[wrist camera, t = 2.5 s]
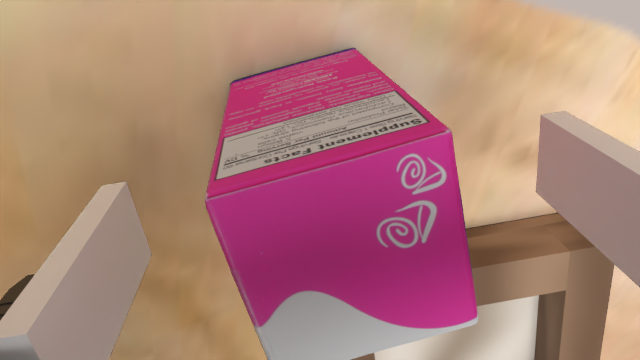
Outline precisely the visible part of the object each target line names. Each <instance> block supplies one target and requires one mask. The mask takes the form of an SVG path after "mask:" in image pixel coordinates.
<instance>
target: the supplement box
mask: <svg viewBox="0 0 640 360" xmlns="http://www.w3.org/2000/svg"><path fill="white" fill-rule="evenodd" d="M205 203H206V209H207V211H208V214H209V217H210V219H211V222H212V224H213V227H214V230H215V232H216V235H217V237H218V240H219V242H220V245H221V248H222V250H223V252H224V255H225V257H226V260H227V262H228V265H229V267H230V270H231V273H232V276H233V278H234V280H235V282H236V284H237V287H238V289H239V292H240V294H241V297H242V299H243V301H244V304H245V306H246V309H247V311H248V314H249V316H250V318H251V321H252V323H253V325H254V328H255V331H256V333H257V335H258V337H259V340H260V342H261V345H262V347H263V349H264V351H265V354H266V357H267V359H268V360H351V359H354V358H358V357H361V356H364V355H368V354H371V353H375V352H378V351H382V350H385V349H389V348H392V347H396V346H400V345H403V344H407V343H411V342H414V341H418V340H422V339H426V338H429V337H433V336H436V335H440V334H444V333H447V332H451V331H455V330H458V329H462V328H465V327H469V326H472V325H474V324H477V322H478V312H477V304H476V297H475V290H474V283H473V276H472V269H471V262H470V255H469V248H468V241H467V235H466V228H465V221H464V215H463V207H462V200H461V194H460V188H459V180H458V174H457V167H456V161H455V153H454V146H453V138H452V133H451V130H450V129H449V128H447V127H446V126H445V125H444V124H443V123H442V122H440V121H439V120H438V119H437V118H435V117H434V116H433V115H432V114H431V113H430V112H429V111H427V110H426V109H425V108H424V107H423V106H421V105H420V104H419V103H418V102H417V101H416V100H414V99H413V98H412V97H411V96H410V95H408V94H407V93H406V91H404V90H403V89H402V88H400V87H399V85H397V84H396V83H394V82H393V81H392V80H391V79H390V78H389V77H388V76H386V75H385V74H384V73H383V72H382V71H380V70H379V69H378V68H377V67H376V66H375V65H374V64H372V63H371V62H370V61H369V60H368V59H367V58H365V57H364V56H363V55H362V54H361V53H360V52H359V51H357V50H356V49H355V48H352V49H348V50H344V51H341V52H337V53H333V54H329V55H326V56H322V57H318V58H315V59H311V60H307V61H303V62H300V63H296V64H292V65H289V66H285V67H281V68H278V69H274V70H270V71H267V72H263V73H260V74H256V75H253V76H249V77H246V78H242V79H239V80H236V81H233V82H232V83H231V84H230V90H229V95H228V100H227V104H226V108H225V112H224V116H223V121H222V125H221V130H220V135H219V139H218V144H217V148H216V152H215V157H214V161H213V166H212V170H211V174H210V179H209V183H208V187H207V191H206V196H205Z"/></svg>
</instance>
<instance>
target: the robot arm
mask: <svg viewBox="0 0 640 360" xmlns="http://www.w3.org/2000/svg"><path fill="white" fill-rule="evenodd" d="M536 193H538V194H539V195H540V196H541V197H542V198H543V199H544V200H545V201H546V202H547V203H548V204H550V205H551V206H552V207H553V208H554V209H555V210H556V211H557V212H558V213H559V214H560V215H561V216H563V217H564V218H565V219H566V220H567V221H568V222H569V223H570V224H571V225H572V226H573V227H575V228H576V229H577V230H578V231H579V232H580V233H581V234H582V235H583V236H584V237H585V238H587V239H588V240H589V241H590V242H591V243H592V244H593V245H594V246H595V247H596V248H597V249H599V250H600V251H601V252H602V253H603V254H604V255H605V256H606V257H607V258H608V259H609V260H611V261H612V262H613V263H614V264H615V265H616V266H617V267H618V268H619V269H620V270H621V271H622V272H624V273H625V274H626V275H627V276H628V277H629V278H630V279H631V280H632V281H633V282H634V283H636V284H637V285H638V286H639V287H640V152H639V151H637V150H635V149H633V148H632V147H630V146H628V145H626V144H624V143H622V142H621V141H619V140H617V139H615V138H613V137H611V136H610V135H608V134H606V133H604V132H602V131H600V130H599V129H597V128H595V127H593V126H591V125H589V124H588V123H586V122H584V121H582V120H580V119H578V118H577V117H575V116H573V115H571V114H569V113H567V112H566V111H562V112H555V113H549V114H543V115H541V121H540V136H539V152H538V167H537V183H536ZM151 256H152V253H151V250H150V248H149V245H148V242H147V239H146V236H145V233H144V230H143V228H142V225H141V222H140V219H139V216H138V213H137V210H136V208H135V205H134V202H133V199H132V196H131V193H130V190H129V188H128V185H127V182H120V183H114V184H107V185H102V186H101V187H100V188H99V190H98V191H97V192H96V194H95V195H94V196H93V198H92V199H91V200H90V202H89V203H88V204H87V206H86V207H85V208H84V210H83V211H82V212H81V214H80V215H79V216H78V218H77V219H76V220H75V222H74V223H73V224H72V226H71V227H70V228H69V230H68V231H67V232H66V234H65V235H64V236H63V238H62V239H61V240H60V242H59V243H58V244H57V246H56V247H55V248H54V250H53V251H52V252H51V254H50V255H49V256H48V258H47V259H46V260H45V262H44V263H43V264H42V266H41V267H40V268H39V270H38V271H37V272H36V274H32V275H27V276H26V277H25V278H23V279H22V280H21V281H20V282H18V283H17V284H16V285H14V286H13V287H12V288H10V289H9V290H8V292H7V293H6V294H5V295H4V297H3V298H2V299H1V300H0V360H109V358H110V355H111V353H112V351H113V348H114V346H115V343H116V341H117V338H118V336H119V334H120V331H121V329H122V326H123V324H124V321H125V319H126V317H127V314H128V312H129V309H130V307H131V304H132V302H133V300H134V297H135V295H136V292H137V290H138V287H139V285H140V283H141V280H142V278H143V275H144V273H145V270H146V268H147V266H148V263H149V261H150V258H151Z"/></svg>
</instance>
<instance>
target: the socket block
mask: <svg viewBox="0 0 640 360" xmlns="http://www.w3.org/2000/svg"><path fill="white" fill-rule="evenodd" d="M466 235H467V241H468V248H469V255H470V262H471V269H472V276H473V283H474V290H475V297H476V304H477V312H478V322H477V324H474V325H472V326H469V327H465V328H462V329H458V330H455V331H451V332H447V333H444V334H440V335H436V336H433V337H429V338H426V339H422V340H418V341H414V342H411V343H407V344H403V345H400V346H396V347H392V348H389V349H385V350H382V351H378V352H375V353H371V354H368V355H364V356H361V357H358V358H354V359H351V360H600V355H601V348H602V342H603V335H604V328H605V322H606V315H607V309H608V302H609V295H610V289H611V282H612V276H613V269H614V263H613V262H612V261H611V260H609V259H608V258H607V257H606V256H605V255H604V254H603V253H602V252H601V251H600V250H599V249H597V248H596V247H595V246H594V245H593V244H592V243H591V242H590V241H589V240H588V239H587V238H585V237H584V236H583V235H582V234H581V233H580V232H579V231H578V230H577V229H576V228H575V227H573V226H572V225H571V224H570V223H569V222H568V221H567V220H566V219H565V218H564V217H563V216H561V215H560V214H559V213H556V214H551V215H545V216H539V217H533V218H528V219H522V220H516V221H510V222H505V223H499V224H493V225H487V226H482V227H476V228H470V229H466Z"/></svg>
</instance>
